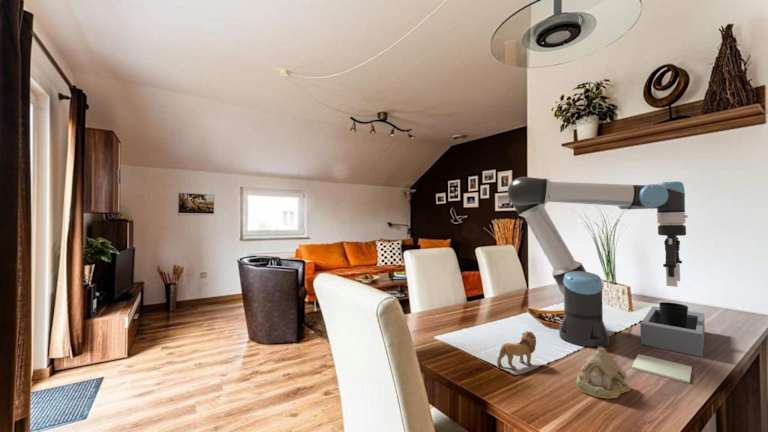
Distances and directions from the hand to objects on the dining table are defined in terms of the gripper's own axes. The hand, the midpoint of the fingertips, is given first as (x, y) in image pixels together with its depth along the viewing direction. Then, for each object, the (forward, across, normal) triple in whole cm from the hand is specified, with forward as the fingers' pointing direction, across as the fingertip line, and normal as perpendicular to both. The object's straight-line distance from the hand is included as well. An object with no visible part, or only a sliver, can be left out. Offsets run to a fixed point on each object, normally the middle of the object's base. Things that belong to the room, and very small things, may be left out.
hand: (673, 283), depth 114 cm
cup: (+20, 0, 0) cm, 20 cm away
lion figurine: (+20, -61, +31) cm, 71 cm away
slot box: (+20, +1, 0) cm, 20 cm away
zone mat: (+20, -34, +1) cm, 39 cm away
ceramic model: (+20, -58, +10) cm, 62 cm away
